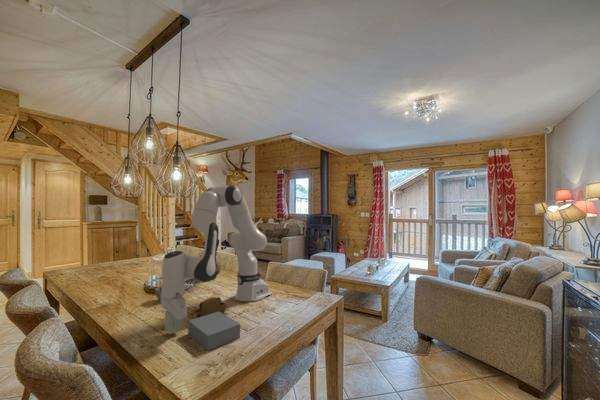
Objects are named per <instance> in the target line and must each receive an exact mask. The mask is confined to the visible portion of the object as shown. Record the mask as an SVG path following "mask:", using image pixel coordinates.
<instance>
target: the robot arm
mask: <svg viewBox="0 0 600 400" xmlns="http://www.w3.org/2000/svg"><path fill="white" fill-rule="evenodd" d="M223 207H224V208H225V207H227V211H228V213H229V216H230V217H229V218H230V220H231V223H232V226H233V227H234V228H235V229H236V230H237V231H234V232H233V233H231V234H230V237H229V244H230V246H231V247H232V248H233V249H234V251H235V254H236V257H237V264H238V265H237V268H238V270H237V271H238V272H237V276H236V277H237V279H236V281H237V288H236V293H235V296H234V298H235V300H237V301H240V302H258V300H259V301H261V300H263V299H265V298H264V297H266V296H268V295H270V296H272V295H273V292H272V290H270V287H269V285H268V283H267V282H265V281H264V280H262V279H261V278H260V277H263V276H264V274H263V273H261V272H258V259H257V257H256V256H255V255H254V254H253V252H260V251H264V250H265V248H266V247H267V245H268V239H267V238H268V237H267V236H266V235H265V234H264V233H262V232H261V231H260V229H259V228H258V227H257V226H256V224H255V223H254V221H253V218H252V216H251V213H250V209H249V206H248V203H247V201H246V199H245V197H244V195H243V192H242V190H241V188H240V187H239V186H237V185H231V184H230V185H220V186H214V187H213V186H212V187H210V188H208V189H206V190H205V191H203V192H201V194H200V195H199V197H198V198H197V200H196V203H195V204H194V208H193V211H192V213H191V220H190V221H191V224H192V226H193V227H194V228H195V229H196V230H197V231H199V232H200V233H202V234H203V236H204V239H205V240H204V241H205V245H204V247H203V253H202V256H195V255H188V254H186V253H184V252H183V251H182V250H181V251H180V250H173V251H170V252H167V253H166V254H165V255H164V256H163V258H162V264H161V276H162V282H161V286H158V287H159V292H160V298H161V302H160V305H161V307H162V309H164V311H168V312H169V313H170V314H171V315H172V316H173V317H174V322H173V325H174V326H175V327H176V326H179V320H181V319H182V320H183V319H186V318H187V316H188V312H187V311H188V310H187V300H186V299H185V298H184V297H183V296H184V294H185V292H186V281H185V279H193V280H197V281H201V282H207V281H210V280H209V279H210V278H211V277H212V276H213V275H214V274H215V271H216V253H218V252H217V251H218V248H217V243H218V239H219V231H220V229H219V225H218V224H217V215H218V211H219V208H223ZM271 294H272V295H271ZM268 297H269V296H268ZM262 298H263V299H262ZM266 298H267V297H266ZM260 299H261V300H260Z"/></svg>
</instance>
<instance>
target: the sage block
mask: <svg viewBox="0 0 600 400" xmlns="http://www.w3.org/2000/svg"><path fill="white" fill-rule="evenodd" d="M182 320H183V319H181V320H179V326H176V327H175V326H174V325H173V322H174V317H173V316H172V315H171V314H170V313H169V312H168V311H166V310H164V330H165V332H166V333H167V334H168V335H171V334H174V333H177V332H180V331H182V329H183V328H182V327H183V326H182V323H183V322H182Z"/></svg>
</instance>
